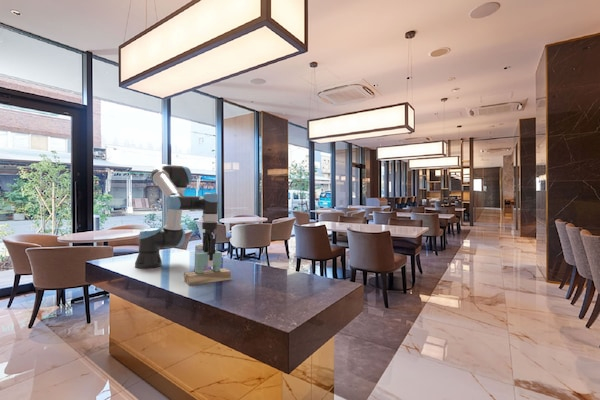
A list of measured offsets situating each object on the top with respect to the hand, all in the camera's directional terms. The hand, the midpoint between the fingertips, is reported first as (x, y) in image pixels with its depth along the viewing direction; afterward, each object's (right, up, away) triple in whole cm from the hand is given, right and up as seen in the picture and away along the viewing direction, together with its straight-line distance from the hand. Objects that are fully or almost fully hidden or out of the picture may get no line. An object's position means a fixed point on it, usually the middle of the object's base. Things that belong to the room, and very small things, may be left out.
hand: (208, 265), depth 158 cm
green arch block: (0, -3, 0) cm, 3 cm away
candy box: (-9, -8, +20) cm, 23 cm away
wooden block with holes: (0, -8, 0) cm, 8 cm away
